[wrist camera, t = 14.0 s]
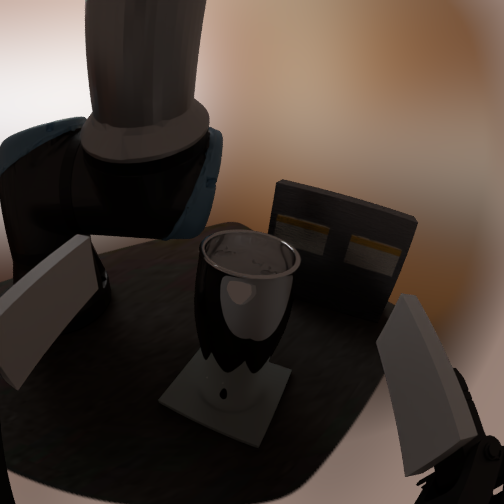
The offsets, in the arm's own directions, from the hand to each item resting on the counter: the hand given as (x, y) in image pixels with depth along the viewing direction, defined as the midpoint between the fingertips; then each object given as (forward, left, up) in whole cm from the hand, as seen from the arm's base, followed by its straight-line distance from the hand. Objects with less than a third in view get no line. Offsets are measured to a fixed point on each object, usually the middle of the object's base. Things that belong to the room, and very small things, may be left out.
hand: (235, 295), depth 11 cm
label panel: (+3, +28, -17) cm, 33 cm away
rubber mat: (-2, +7, -17) cm, 19 cm away
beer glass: (-2, +7, -17) cm, 18 cm away
